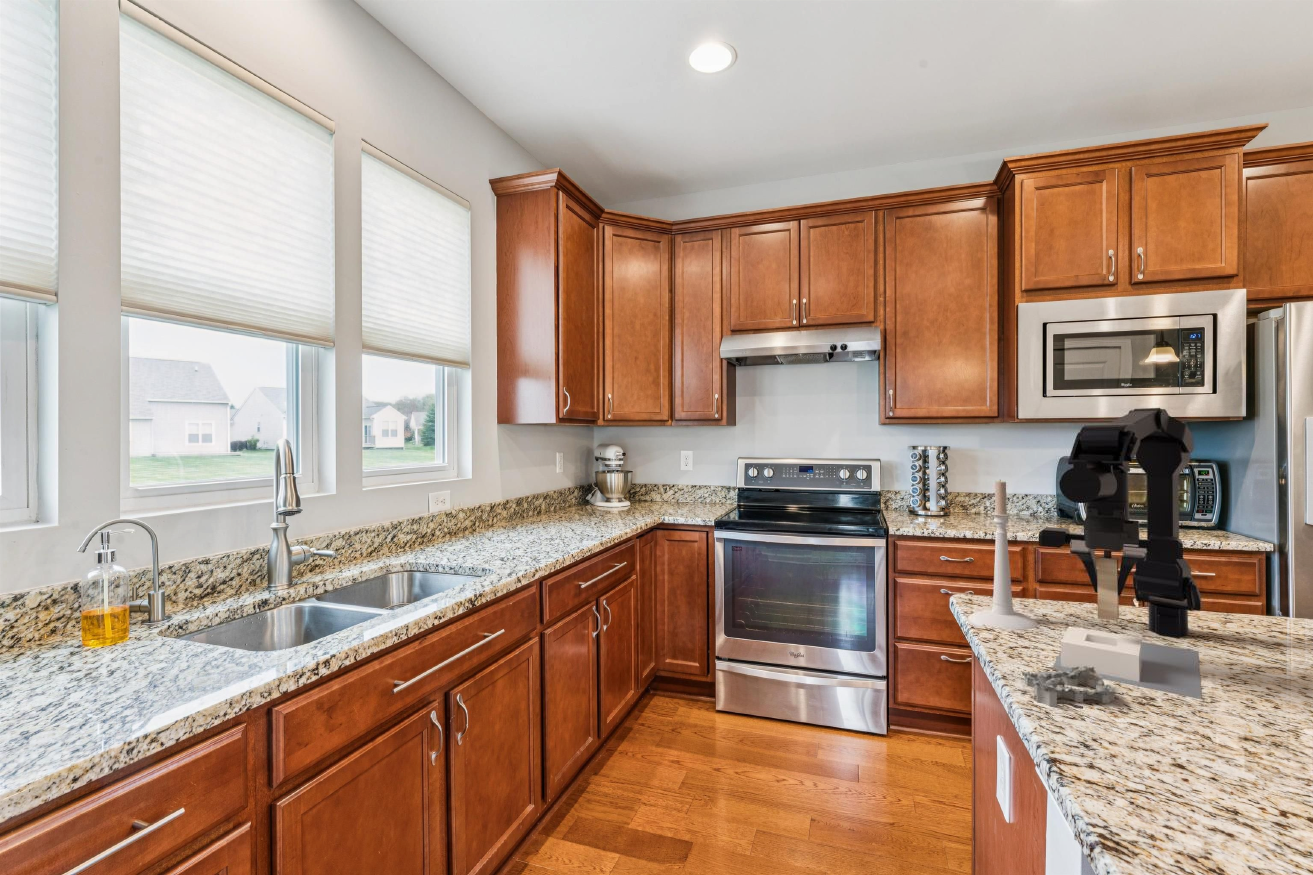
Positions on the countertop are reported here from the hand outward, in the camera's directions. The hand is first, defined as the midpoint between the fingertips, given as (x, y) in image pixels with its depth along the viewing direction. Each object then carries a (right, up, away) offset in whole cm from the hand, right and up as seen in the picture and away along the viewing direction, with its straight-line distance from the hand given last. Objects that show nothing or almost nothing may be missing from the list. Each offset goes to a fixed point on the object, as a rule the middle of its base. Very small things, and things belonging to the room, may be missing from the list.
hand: (1107, 593), depth 98 cm
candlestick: (-4, -13, +23) cm, 27 cm away
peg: (0, -4, 0) cm, 4 cm away
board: (+4, -13, +2) cm, 13 cm away
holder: (-1, -12, 0) cm, 12 cm away
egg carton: (-14, -13, -10) cm, 22 cm away
